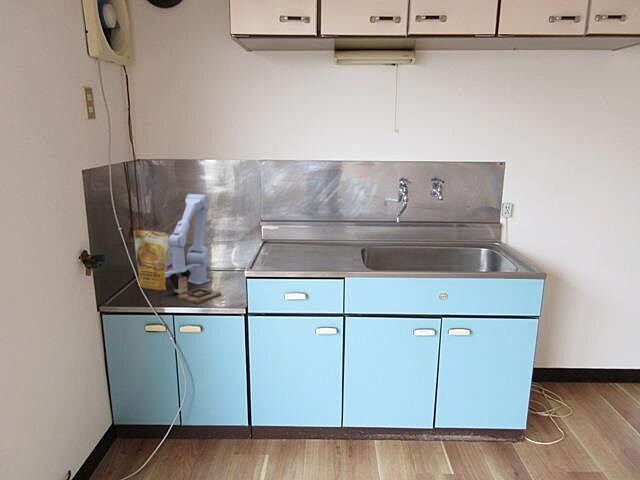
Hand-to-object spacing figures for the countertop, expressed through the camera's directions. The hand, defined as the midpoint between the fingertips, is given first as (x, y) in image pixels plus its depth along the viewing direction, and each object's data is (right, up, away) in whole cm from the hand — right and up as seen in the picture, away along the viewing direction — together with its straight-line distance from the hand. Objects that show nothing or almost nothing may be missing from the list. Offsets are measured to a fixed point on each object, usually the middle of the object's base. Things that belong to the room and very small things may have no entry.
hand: (180, 287), depth 223 cm
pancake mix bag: (-15, -1, +8) cm, 18 cm away
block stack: (0, -2, +1) cm, 2 cm away
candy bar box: (-16, +3, +22) cm, 27 cm away
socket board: (+10, -4, -4) cm, 11 cm away
